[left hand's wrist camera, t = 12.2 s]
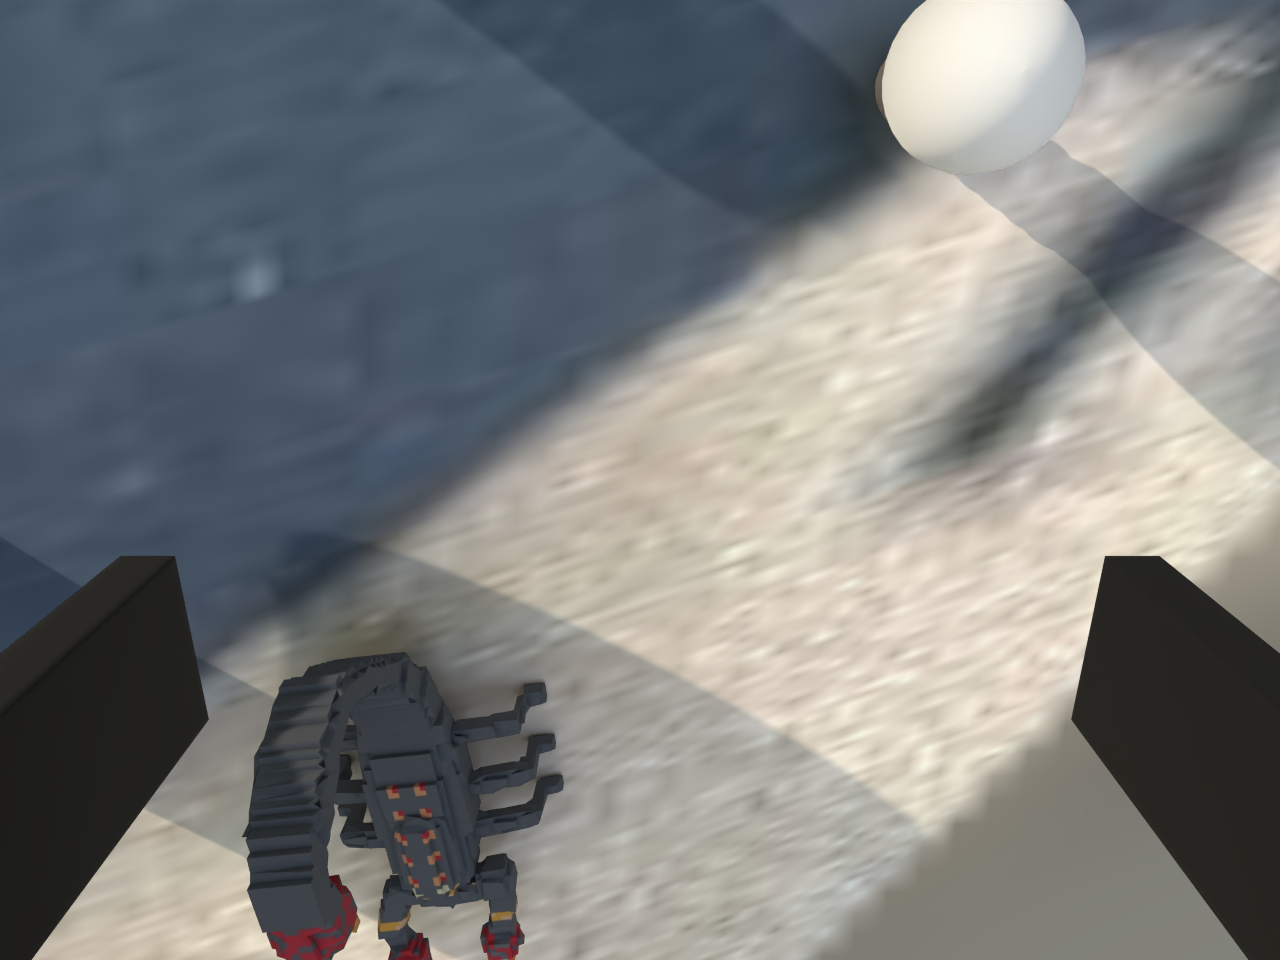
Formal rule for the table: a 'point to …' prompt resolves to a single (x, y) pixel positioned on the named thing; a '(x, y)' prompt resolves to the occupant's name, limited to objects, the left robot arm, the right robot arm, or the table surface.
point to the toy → (383, 807)
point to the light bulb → (981, 81)
